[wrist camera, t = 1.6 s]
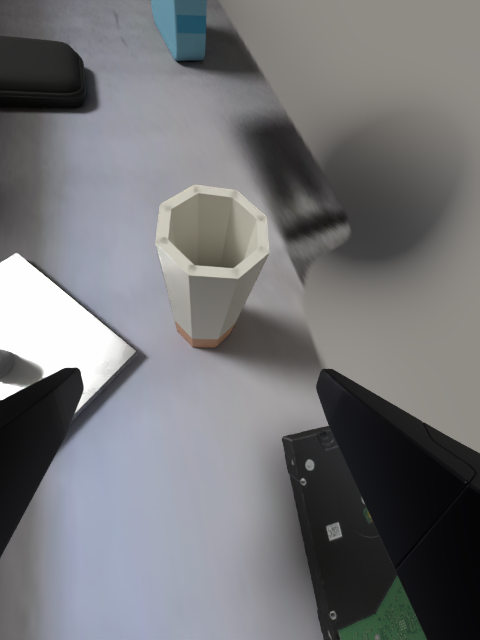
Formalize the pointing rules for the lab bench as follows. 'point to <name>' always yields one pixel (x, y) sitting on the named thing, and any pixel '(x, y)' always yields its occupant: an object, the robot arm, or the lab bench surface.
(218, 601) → the lab bench surface
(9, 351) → the pin plate
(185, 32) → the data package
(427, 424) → the robot arm
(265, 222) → the sleeve
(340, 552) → the disk drive
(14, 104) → the carrying case or bag
